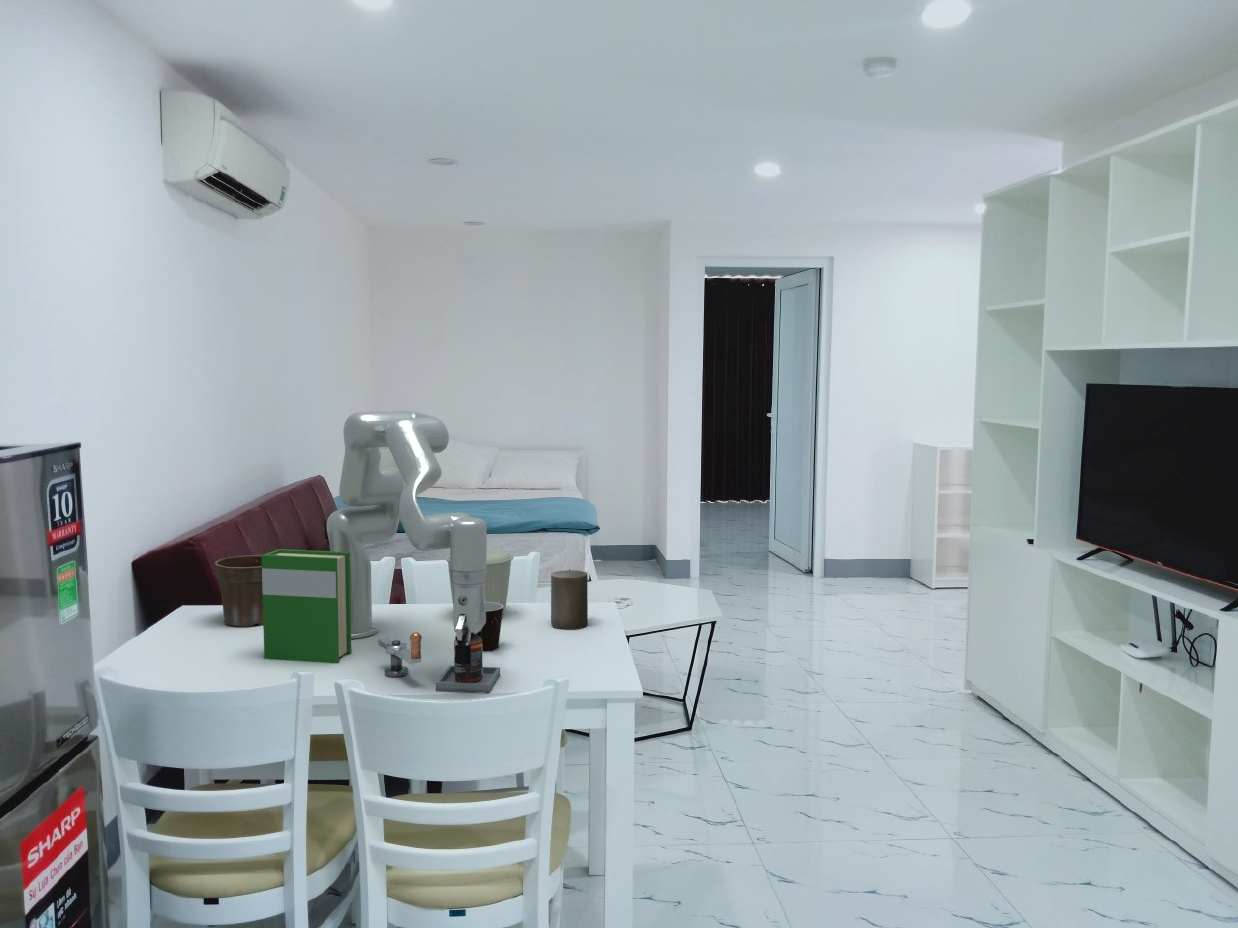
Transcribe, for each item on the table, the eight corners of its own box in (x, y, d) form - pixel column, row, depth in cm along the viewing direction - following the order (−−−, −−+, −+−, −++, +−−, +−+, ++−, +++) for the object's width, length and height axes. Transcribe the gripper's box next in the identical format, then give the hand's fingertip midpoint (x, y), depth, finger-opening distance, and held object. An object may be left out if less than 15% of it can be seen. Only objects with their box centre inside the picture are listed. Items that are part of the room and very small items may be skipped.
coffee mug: (468, 642, 227) (468, 602, 226) (503, 642, 227) (503, 601, 226) (464, 657, 215) (464, 614, 214) (501, 656, 216) (501, 614, 215)
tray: (435, 690, 192) (435, 682, 192) (449, 673, 203) (449, 665, 203) (489, 692, 191) (489, 684, 191) (500, 675, 202) (500, 667, 202)
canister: (515, 608, 260) (516, 533, 258) (510, 625, 242) (510, 546, 240) (450, 608, 259) (450, 533, 257) (440, 625, 241) (440, 545, 239)
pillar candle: (593, 627, 241) (594, 570, 240) (558, 631, 237) (559, 573, 236) (578, 618, 250) (579, 563, 249) (544, 622, 246) (545, 566, 245)
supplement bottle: (487, 676, 199) (487, 625, 198) (474, 685, 194) (474, 632, 193) (462, 673, 201) (462, 622, 200) (449, 682, 196) (448, 629, 195)
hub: (381, 677, 200) (381, 656, 200) (389, 669, 205) (388, 649, 205) (404, 678, 200) (403, 657, 199) (411, 670, 205) (411, 650, 204)
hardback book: (351, 653, 217) (349, 552, 214) (337, 663, 209) (335, 558, 207) (280, 649, 219) (278, 549, 217) (264, 658, 212) (261, 555, 210)
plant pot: (291, 613, 252) (290, 554, 250) (271, 629, 235) (269, 567, 234) (231, 613, 251) (229, 554, 249) (206, 629, 235) (204, 566, 233)
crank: (373, 645, 206) (373, 616, 206) (392, 642, 209) (392, 613, 208) (408, 666, 192) (408, 635, 191) (428, 662, 195) (428, 632, 194)
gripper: (476, 586, 186) (476, 669, 188) (494, 568, 203) (494, 645, 205) (439, 585, 187) (440, 668, 188) (461, 567, 204) (461, 643, 206)
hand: (468, 656), depth 197 cm, fingers open, 9 cm apart
